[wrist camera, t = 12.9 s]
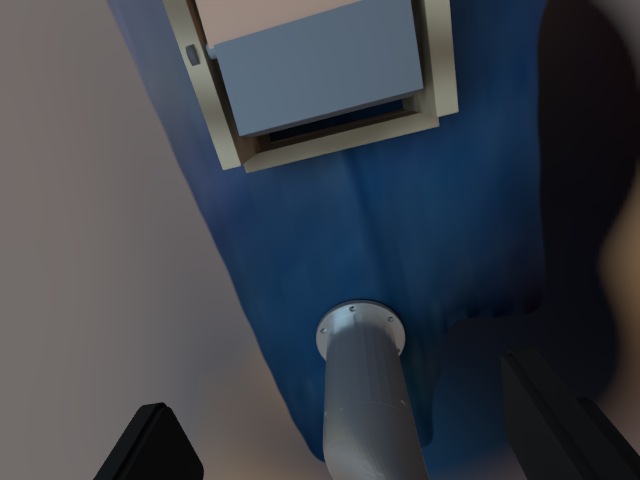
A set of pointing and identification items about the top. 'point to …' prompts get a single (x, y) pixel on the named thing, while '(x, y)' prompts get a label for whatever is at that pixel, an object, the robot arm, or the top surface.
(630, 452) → the robot arm
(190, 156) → the top surface
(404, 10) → the trapdoor
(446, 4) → the frame
